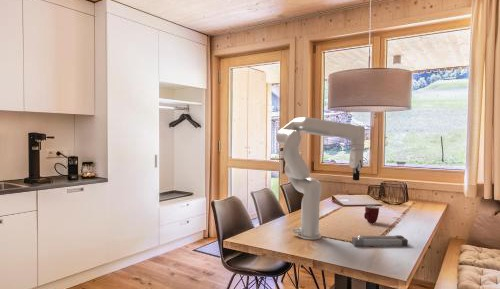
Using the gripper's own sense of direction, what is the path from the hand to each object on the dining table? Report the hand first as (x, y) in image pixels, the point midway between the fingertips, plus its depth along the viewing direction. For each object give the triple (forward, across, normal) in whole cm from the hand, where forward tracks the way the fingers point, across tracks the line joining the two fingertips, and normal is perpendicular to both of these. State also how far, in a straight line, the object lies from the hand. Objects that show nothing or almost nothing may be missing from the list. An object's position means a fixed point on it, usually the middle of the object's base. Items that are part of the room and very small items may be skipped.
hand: (355, 180), depth 196 cm
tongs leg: (+29, +20, +7) cm, 36 cm away
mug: (+29, -16, +16) cm, 37 cm away
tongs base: (+29, +23, +4) cm, 38 cm away
